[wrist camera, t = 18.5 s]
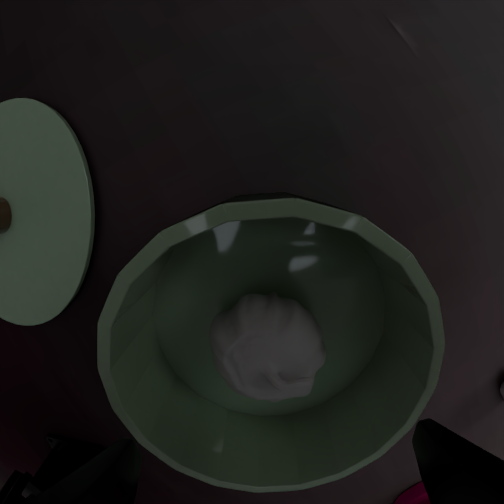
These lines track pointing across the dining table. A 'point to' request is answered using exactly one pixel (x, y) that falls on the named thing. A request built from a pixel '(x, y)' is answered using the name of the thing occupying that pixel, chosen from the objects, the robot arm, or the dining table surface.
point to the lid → (41, 212)
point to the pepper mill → (414, 495)
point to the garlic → (267, 347)
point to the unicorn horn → (502, 390)
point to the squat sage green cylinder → (285, 285)
